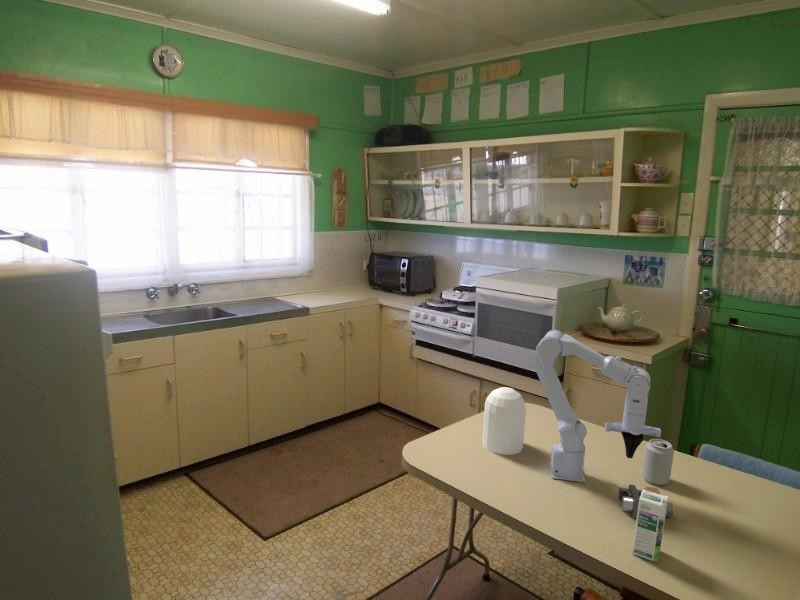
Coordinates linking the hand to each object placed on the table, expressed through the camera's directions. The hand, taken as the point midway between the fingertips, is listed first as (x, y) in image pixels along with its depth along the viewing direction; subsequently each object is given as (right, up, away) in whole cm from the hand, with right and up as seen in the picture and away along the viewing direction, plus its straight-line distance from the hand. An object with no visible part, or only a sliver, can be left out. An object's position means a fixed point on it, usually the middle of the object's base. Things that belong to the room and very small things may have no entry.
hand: (629, 456), depth 155 cm
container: (-31, -4, +26) cm, 41 cm away
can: (+11, -9, +7) cm, 16 cm away
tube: (0, -12, -10) cm, 16 cm away
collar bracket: (0, -12, -8) cm, 15 cm away
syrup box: (-7, -16, -26) cm, 31 cm away
